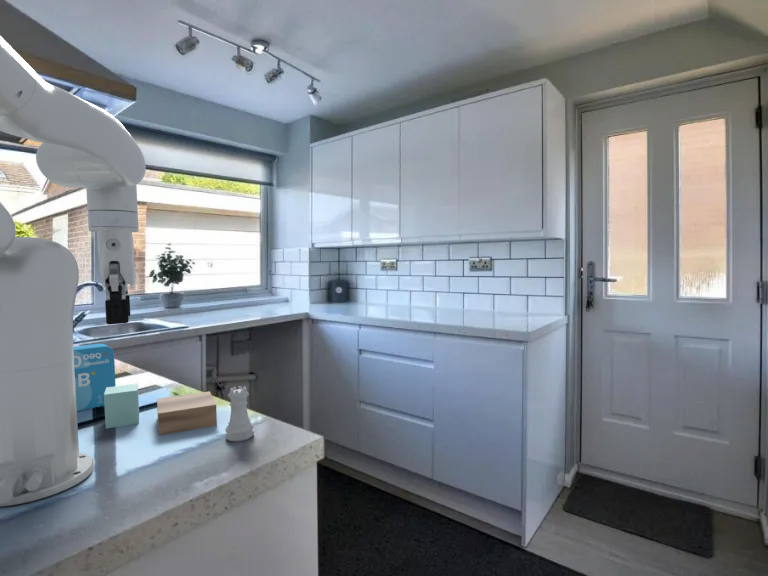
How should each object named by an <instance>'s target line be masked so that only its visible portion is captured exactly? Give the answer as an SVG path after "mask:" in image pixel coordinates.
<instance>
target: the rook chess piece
mask: <svg viewBox="0 0 768 576" xmlns="http://www.w3.org/2000/svg"><path fill="white" fill-rule="evenodd" d="M249 395H250V393H249V392H248V390H247V387H246V386H240V385H239V386H238V388H236V386H233V387H231V388H230V389H229V393H228V394H227V397H228V398H229V399H230V403H229V406H230V417H229V421H228V423H227V424H228V425H227V426H226V428H225V429H224V430H225V431H224V432H225V433H226V434H225V436H224V437H225V439H226V440H227V441H229V442H231V443H232V442H233V443H241V442H245V441H248V440H250V439H252V437H253V436H254V434H255V432H254V430H253V429H254V425H253V424H252V422H251V420H250V417H249V413H248V407H247V405H248V404H249V402H248V401H247V398H248V397H249Z"/></svg>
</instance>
